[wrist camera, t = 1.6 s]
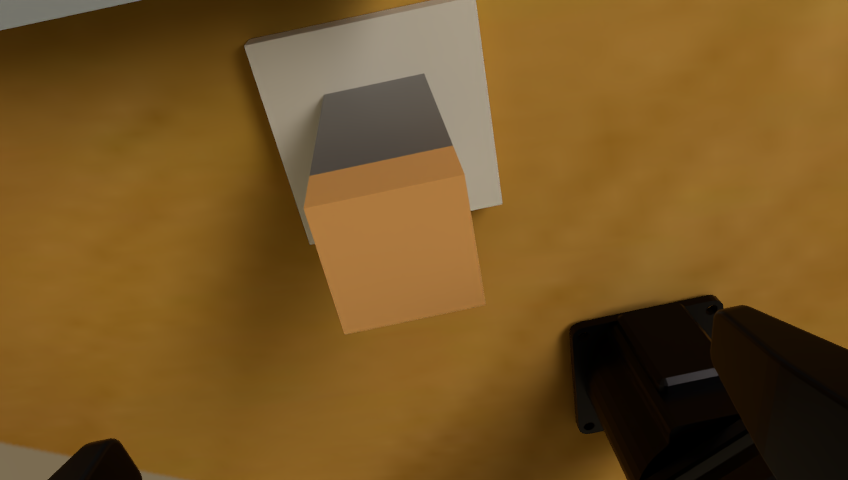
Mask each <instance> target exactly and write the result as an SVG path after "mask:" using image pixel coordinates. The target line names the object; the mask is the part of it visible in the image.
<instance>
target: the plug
mask: <svg viewBox="0 0 848 480" xmlns="http://www.w3.org/2000/svg"><path fill="white" fill-rule="evenodd" d="M304 212H305V215H306V218H307V221H308V224H309V227H310V230H311V233H312V236H313V239H314V242H315V245H316V248H317V251H318V255H319V258H320V261H321V264H322V267H323V270H324V273H325V276H326V279H327V282H328V285H329V288H330V291H331V294H332V297H333V301H334V304H335V307H336V310H337V313H338V316H339V319H340V322H341V325H342V328H343V331H344V334H345V335H346V334H350V333H355V332H360V331H365V330H369V329H374V328H379V327H384V326H388V325H393V324H398V323H403V322H407V321H412V320H417V319H422V318H426V317H431V316H436V315H441V314H445V313H450V312H455V311H460V310H464V309H469V308H474V307H479V306H483V305H486V302H485V296H484V290H483V284H482V278H481V271H480V265H479V259H478V253H477V247H476V241H475V235H474V229H473V222H472V216H471V210H470V204H469V198H468V192H467V186H466V180H465V174H464V172H463V169H462V167H461V164H460V162H459V159H458V157H457V154H456V152H455V149H454V147H453V144H452V142H451V139H450V137H449V134H448V132H447V129H446V127H445V124H444V122H443V119H442V117H441V114H440V112H439V109H438V107H437V104H436V102H435V99H434V97H433V94H432V92H431V89H430V87H429V84H428V82H427V79H426V77H425V74H424V73H423V74H419V75H414V76H409V77H404V78H400V79H395V80H390V81H386V82H381V83H376V84H372V85H367V86H362V87H358V88H353V89H348V90H343V91H339V92H334V93H329V94H325V95H324V96H323V102H322V107H321V113H320V119H319V124H318V130H317V136H316V141H315V147H314V153H313V158H312V164H311V169H310V175H309V181H308V186H307V192H306V198H305V203H304Z"/></svg>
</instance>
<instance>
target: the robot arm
mask: <svg viewBox="0 0 848 480" xmlns="http://www.w3.org/2000/svg"><path fill="white" fill-rule="evenodd" d="M711 305H712V306H711ZM709 306H711V307H710V308H708V307H709ZM707 308H708V309H707ZM583 332H586V333H585V334H584V335H581V336H579V335H580V334H581V333H583ZM569 335H570V348H571V361H572V374H573V388H574V401H575V414H576V423H577V426H578V428H579V430H580V432H582V433H584V434H590V433H595V432H600V431H605V434H606V436H607V438H608V440H609V442H610V444H611V446H612V448H613V451H614V453H615V455H616V457H617V459H618V461H619V463H620V465H621V468H622V470H623V472H624V474H625V476H626V478H627V480H848V349H846V348H843V347H841V346H839V345H836V344H834V343H832V342H830V341H827V340H825V339H823V338H820V337H818V336H816V335H813V334H811V333H809V332H807V331H804V330H802V329H800V328H797V327H795V326H793V325H790V324H788V323H786V322H784V321H781V320H779V319H777V318H774V317H772V316H770V315H768V314H765V313H763V312H761V311H758V310H756V309H754V308H751V307H749V306H745V305H739V306H734V307H730V308H725V309H723V304H722V303H721V302H720V301H719V300H718V298H717V297H716V296H713V295H706V296H701V297H696V298H692V299H687V300H682V301H677V302H673V303H668V304H663V305H658V306H654V307H649V308H644V309H639V310H635V311H630V312H625V313H620V314H616V315H611V316H606V317H601V318H597V319H592V320H587V321H582V322H579V323H576V324H575V325H573V326H572V327H571V329H570V333H569ZM48 480H142V476H141V473H140V471H139V470H138V468H137V467H136V465H135V464H134V462H133V461H132V459H131V457H130V456H129V454H128V453H127V451H126V450H125V448H124V447H123V445H122V444H121V443H120V441H118V440H116V439H112V438H110V439H105V440H100V441H95V442H91V443H88V444H86V445H84V446H83V447H82V448H81V449H79V450H78V451H77V452H76V453H75V454H74V455H73V456H72V457H71V458H70V459H69V460H68V461H67V462H66V463H65V464H64V465H63V466H62V467H61V468H60V469H59V470H57V471H56V472H55V473H54V474H53V475H52V476H51V477H50V478H49V479H48Z"/></svg>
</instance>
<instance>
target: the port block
mask: <svg viewBox="0 0 848 480" xmlns="http://www.w3.org/2000/svg"><path fill="white" fill-rule="evenodd" d="M135 1H140V0H0V30H5V29H9V28H14V27H19V26H23V25H28V24H33V23H37V22H42V21H47V20H51V19H56V18H61V17H65V16H70V15H75V14H79V13H84V12H89V11H93V10H98V9H103V8H107V7H112V6H117V5H121V4H126V3H131V2H135Z"/></svg>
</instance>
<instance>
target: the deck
mask: <svg viewBox="0 0 848 480" xmlns="http://www.w3.org/2000/svg"><path fill="white" fill-rule="evenodd" d="M244 48H245V51H246V54H247V57H248V60H249V63H250V66H251V69H252V72H253V75H254V78H255V81H256V84H257V87H258V90H259V93H260V96H261V99H262V102H263V105H264V108H265V111H266V114H267V117H268V120H269V123H270V126H271V129H272V132H273V135H274V138H275V141H276V144H277V147H278V150H279V153H280V156H281V159H282V162H283V165H284V168H285V171H286V174H287V177H288V180H289V183H290V186H291V189H292V192H293V195H294V198H295V201H296V204H297V207H298V210H299V213H300V216H301V219H302V223H303V226H304V229H305V232H306V235H307V238H308V241H309V244H310V245H312V244H315V242H314V239H313V236H312V233H311V230H310V227H309V224H308V221H307V218H306V215H305V212H304V203H305V198H306V192H307V186H308V181H309V175H310V169H311V164H312V158H313V153H314V147H315V141H316V136H317V130H318V124H319V119H320V113H321V107H322V102H323V96H324V95H325V94H329V93H334V92H339V91H343V90H348V89H353V88H358V87H362V86H367V85H372V84H376V83H381V82H386V81H390V80H395V79H400V78H404V77H409V76H414V75H419V74H423V73H424V74H425V77H426V79H427V82H428V84H429V87H430V89H431V92H432V94H433V97H434V99H435V102H436V104H437V107H438V109H439V112H440V114H441V117H442V119H443V122H444V124H445V127H446V129H447V132H448V134H449V137H450V139H451V142H452V144H453V147H454V149H455V152H456V154H457V157H458V159H459V162H460V164H461V167H462V169H463V172H464V174H465V180H466V186H467V192H468V198H469V204H470V210H471V211H472V210H477V209H482V208H486V207H491V206H496V205H501V204H502V196H501V189H500V181H499V174H498V166H497V158H496V151H495V143H494V136H493V128H492V120H491V113H490V105H489V97H488V90H487V82H486V75H485V67H484V59H483V52H482V44H481V36H480V29H479V21H478V14H477V6H476V0H430V1H426V2H421V3H416V4H412V5H407V6H402V7H398V8H393V9H388V10H384V11H379V12H374V13H370V14H365V15H360V16H356V17H351V18H346V19H342V20H337V21H332V22H328V23H323V24H318V25H314V26H309V27H304V28H300V29H295V30H290V31H286V32H281V33H276V34H272V35H267V36H262V37H258V38H253V39H249V40H248V41H247V43H246V44H245V45H244Z"/></svg>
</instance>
